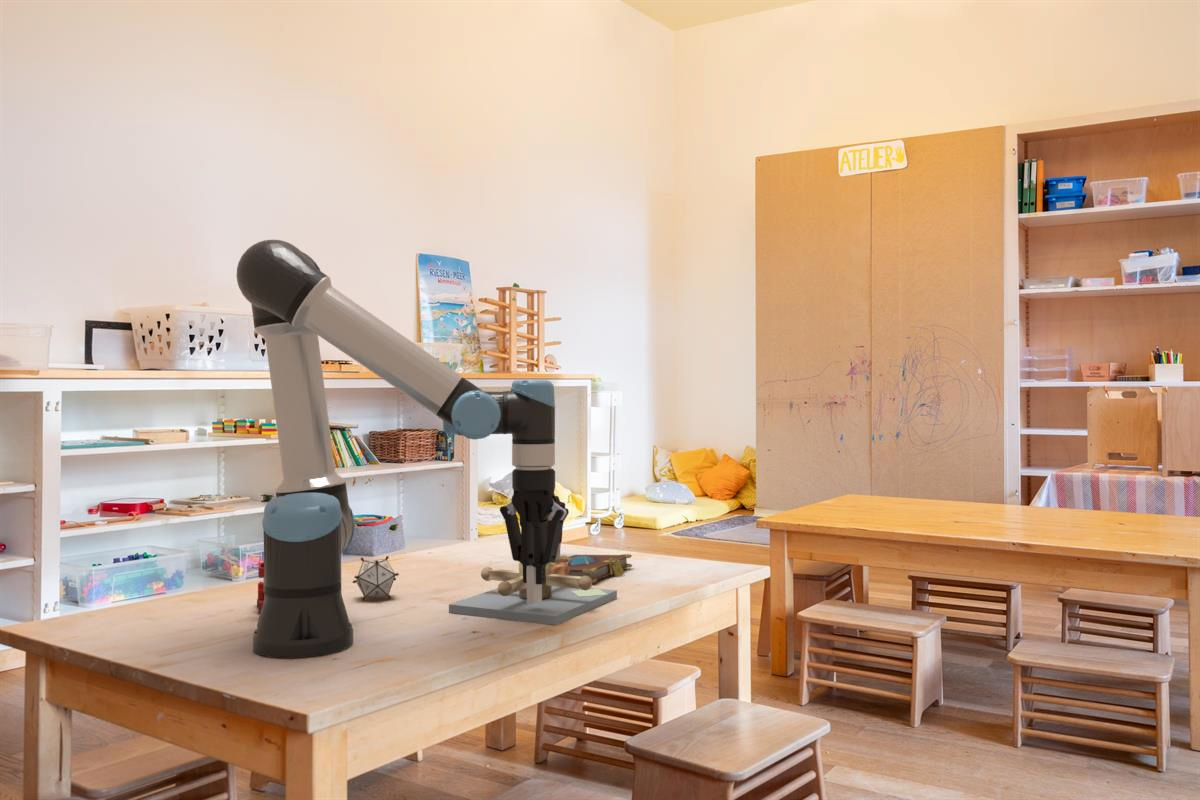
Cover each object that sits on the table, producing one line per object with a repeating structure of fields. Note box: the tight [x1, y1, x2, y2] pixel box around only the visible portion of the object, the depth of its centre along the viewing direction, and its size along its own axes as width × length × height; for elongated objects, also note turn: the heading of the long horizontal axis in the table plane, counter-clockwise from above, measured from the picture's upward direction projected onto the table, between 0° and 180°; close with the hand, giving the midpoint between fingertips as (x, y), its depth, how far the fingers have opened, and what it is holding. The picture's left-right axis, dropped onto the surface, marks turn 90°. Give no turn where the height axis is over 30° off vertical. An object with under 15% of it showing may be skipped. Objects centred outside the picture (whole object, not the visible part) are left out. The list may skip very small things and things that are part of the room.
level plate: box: [448, 586, 618, 626], centre depth 184 cm, size 24×22×3 cm
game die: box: [352, 555, 400, 602], centre depth 191 cm, size 9×8×10 cm
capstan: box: [480, 562, 593, 599], centre depth 184 cm, size 24×24×7 cm
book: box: [551, 553, 633, 584], centre depth 213 cm, size 16×25×5 cm, turn 155°
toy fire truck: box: [256, 561, 264, 614], centre depth 181 cm, size 3×14×10 cm, turn 21°
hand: (534, 602), depth 174 cm, fingers closed
